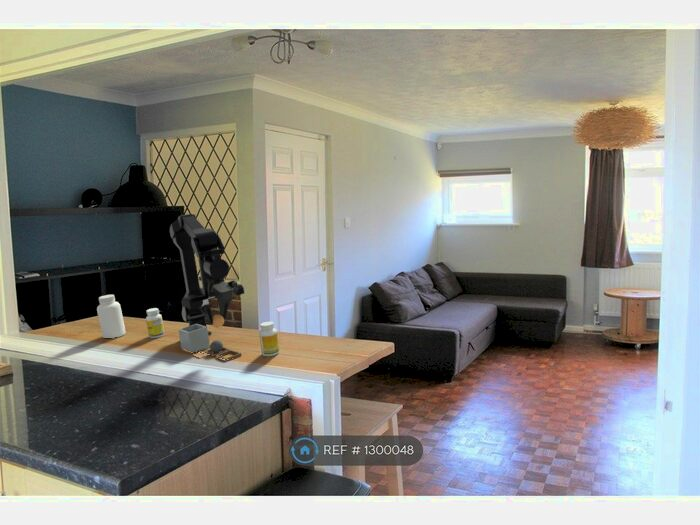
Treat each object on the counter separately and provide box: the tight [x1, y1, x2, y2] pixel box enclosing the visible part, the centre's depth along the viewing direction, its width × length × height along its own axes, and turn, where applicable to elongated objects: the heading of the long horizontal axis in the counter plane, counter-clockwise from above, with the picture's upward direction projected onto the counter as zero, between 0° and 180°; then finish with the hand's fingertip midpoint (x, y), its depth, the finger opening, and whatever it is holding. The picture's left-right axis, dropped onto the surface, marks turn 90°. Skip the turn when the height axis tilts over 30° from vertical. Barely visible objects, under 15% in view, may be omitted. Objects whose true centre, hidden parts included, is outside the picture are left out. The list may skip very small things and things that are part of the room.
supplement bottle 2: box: [258, 321, 280, 357], centre depth 169 cm, size 5×5×10 cm
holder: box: [204, 346, 242, 360], centre depth 173 cm, size 12×6×1 cm, turn 44°
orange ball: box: [212, 314, 225, 328], centre depth 171 cm, size 4×4×4 cm
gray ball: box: [209, 339, 224, 354], centre depth 175 cm, size 4×4×4 cm
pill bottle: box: [96, 294, 126, 339], centre depth 203 cm, size 8×8×15 cm
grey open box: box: [177, 324, 211, 353], centre depth 181 cm, size 7×7×7 cm
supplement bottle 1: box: [145, 307, 166, 339], centre depth 198 cm, size 5×5×10 cm
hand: (217, 322), depth 171 cm, fingers closed on orange ball, 4 cm apart
